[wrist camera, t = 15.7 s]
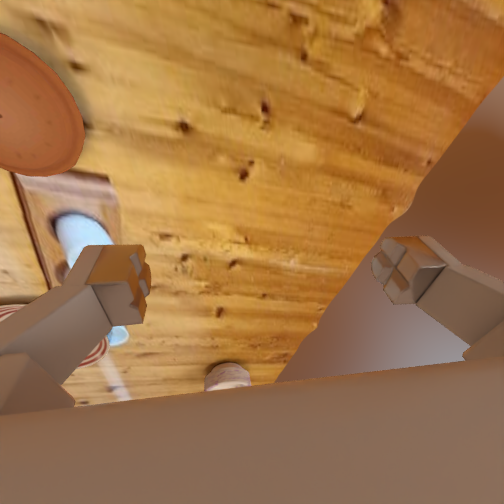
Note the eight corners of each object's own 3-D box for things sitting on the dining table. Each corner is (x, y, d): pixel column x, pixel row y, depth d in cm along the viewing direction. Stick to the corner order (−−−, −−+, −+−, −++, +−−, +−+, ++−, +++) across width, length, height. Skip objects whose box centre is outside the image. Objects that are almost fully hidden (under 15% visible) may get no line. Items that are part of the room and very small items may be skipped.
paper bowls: (204, 359, 80) (204, 385, 74) (250, 356, 83) (254, 380, 77) (204, 380, 90) (204, 404, 84) (245, 376, 93) (248, 399, 87)
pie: (-24, 156, 34) (-53, 170, 30) (-96, 0, 25) (-150, -6, 21) (101, 174, 38) (89, 189, 34) (81, 46, 29) (63, 48, 25)
